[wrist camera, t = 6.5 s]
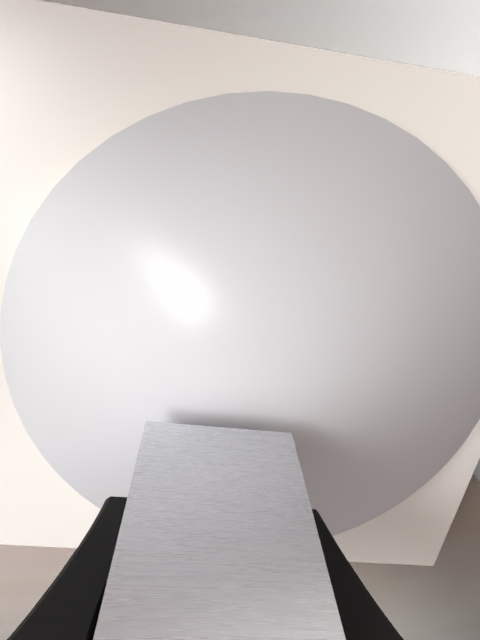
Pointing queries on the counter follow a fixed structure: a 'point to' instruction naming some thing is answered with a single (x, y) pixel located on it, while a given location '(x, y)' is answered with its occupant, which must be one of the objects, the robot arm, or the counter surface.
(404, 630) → the counter surface
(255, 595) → the block
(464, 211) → the scale
